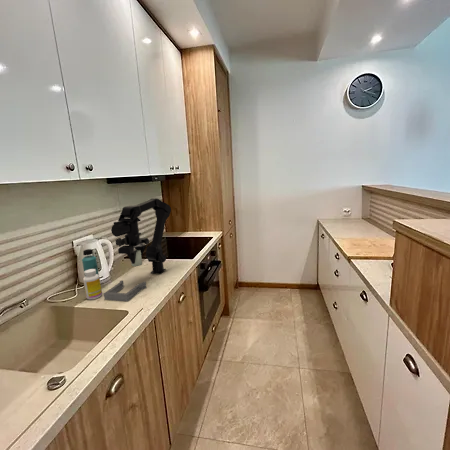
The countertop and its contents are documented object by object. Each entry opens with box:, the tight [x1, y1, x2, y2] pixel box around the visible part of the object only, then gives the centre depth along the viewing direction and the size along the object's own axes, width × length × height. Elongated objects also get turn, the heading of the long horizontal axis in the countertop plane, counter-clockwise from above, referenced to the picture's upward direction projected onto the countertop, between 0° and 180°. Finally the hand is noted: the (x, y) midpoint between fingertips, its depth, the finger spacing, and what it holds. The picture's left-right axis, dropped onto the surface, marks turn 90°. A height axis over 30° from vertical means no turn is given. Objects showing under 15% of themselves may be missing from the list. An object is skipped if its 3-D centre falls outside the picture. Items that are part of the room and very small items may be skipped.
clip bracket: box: [103, 279, 147, 302], centre depth 122 cm, size 14×14×3 cm
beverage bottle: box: [81, 248, 100, 278], centre depth 128 cm, size 6×7×20 cm
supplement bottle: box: [82, 269, 103, 300], centre depth 119 cm, size 7×7×13 cm
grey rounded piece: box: [130, 249, 143, 267], centre depth 131 cm, size 5×5×7 cm
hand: (136, 261), depth 131 cm, fingers closed on grey rounded piece, 5 cm apart
